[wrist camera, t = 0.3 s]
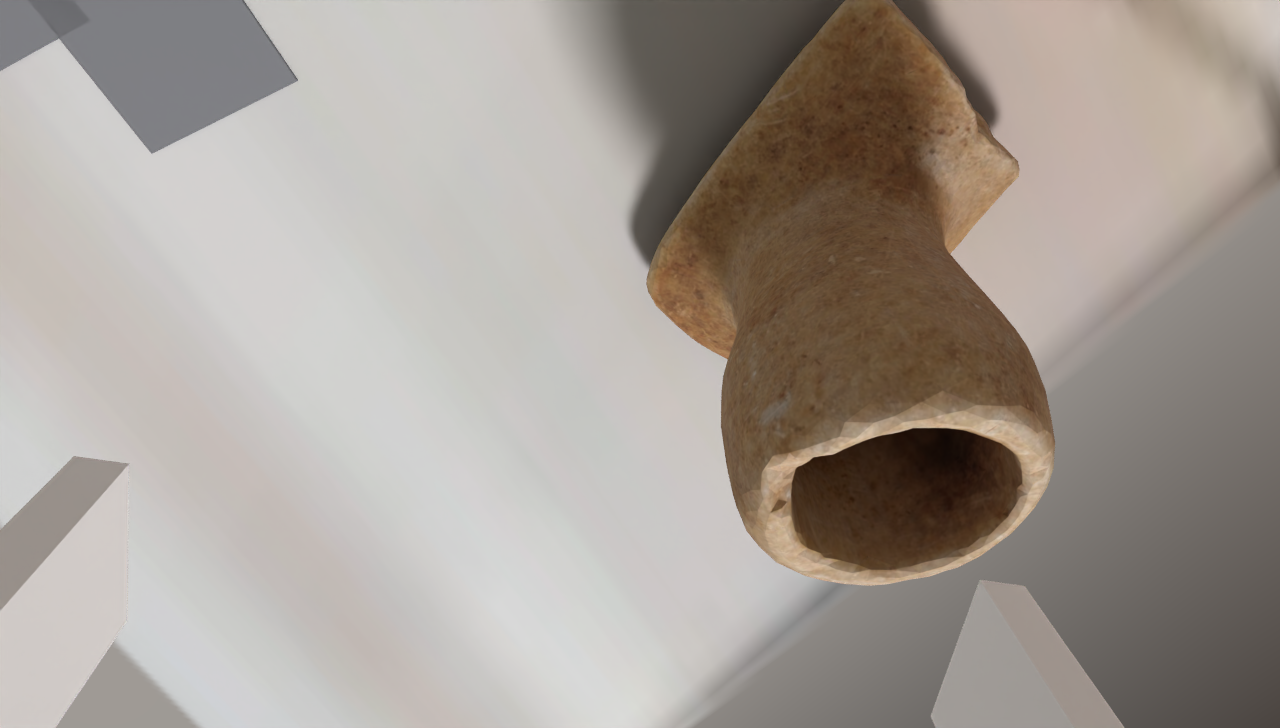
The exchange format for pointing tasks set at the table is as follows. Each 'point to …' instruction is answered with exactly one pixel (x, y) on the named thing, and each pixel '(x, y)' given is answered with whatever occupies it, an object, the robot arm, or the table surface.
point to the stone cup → (860, 314)
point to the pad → (155, 57)
